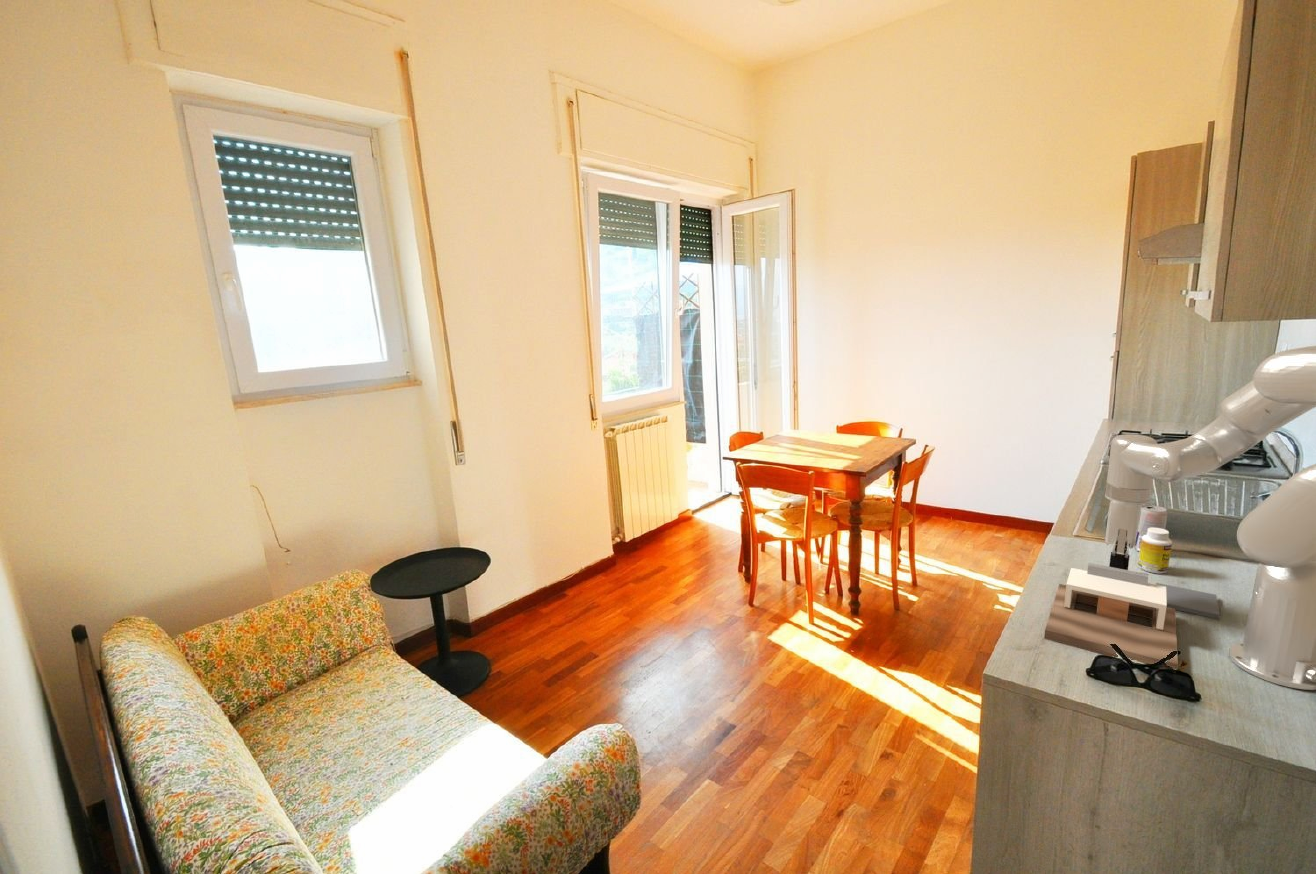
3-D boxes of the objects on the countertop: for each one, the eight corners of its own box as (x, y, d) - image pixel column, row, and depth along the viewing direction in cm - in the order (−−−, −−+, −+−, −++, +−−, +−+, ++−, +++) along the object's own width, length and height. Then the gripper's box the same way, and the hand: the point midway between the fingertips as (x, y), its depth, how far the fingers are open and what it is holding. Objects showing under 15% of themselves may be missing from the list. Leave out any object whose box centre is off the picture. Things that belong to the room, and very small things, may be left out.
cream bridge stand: (1068, 589, 130) (1072, 559, 128) (1162, 610, 119) (1167, 577, 118) (1064, 606, 123) (1067, 575, 121) (1162, 629, 113) (1168, 596, 111)
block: (1097, 609, 125) (1100, 584, 124) (1126, 616, 122) (1130, 591, 121) (1095, 620, 121) (1098, 594, 120) (1125, 627, 118) (1129, 601, 117)
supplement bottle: (1162, 576, 137) (1168, 536, 134) (1134, 568, 141) (1139, 530, 139) (1171, 569, 140) (1177, 530, 137) (1142, 562, 144) (1148, 524, 142)
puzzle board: (1058, 591, 133) (1059, 583, 133) (1173, 617, 120) (1175, 608, 120) (1044, 638, 116) (1045, 629, 116) (1176, 674, 103) (1177, 664, 103)
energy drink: (1151, 547, 152) (1157, 504, 149) (1166, 556, 146) (1173, 511, 144) (1129, 547, 152) (1135, 505, 149) (1144, 556, 147) (1150, 512, 144)
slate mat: (1215, 598, 126) (1216, 594, 126) (1219, 619, 119) (1219, 614, 119) (1155, 586, 133) (1156, 582, 132) (1155, 605, 125) (1156, 601, 125)
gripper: (1108, 480, 130) (1099, 555, 135) (1103, 499, 119) (1093, 580, 124) (1151, 485, 126) (1141, 562, 130) (1150, 506, 115) (1139, 589, 119)
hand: (1118, 571), depth 127 cm, fingers closed
